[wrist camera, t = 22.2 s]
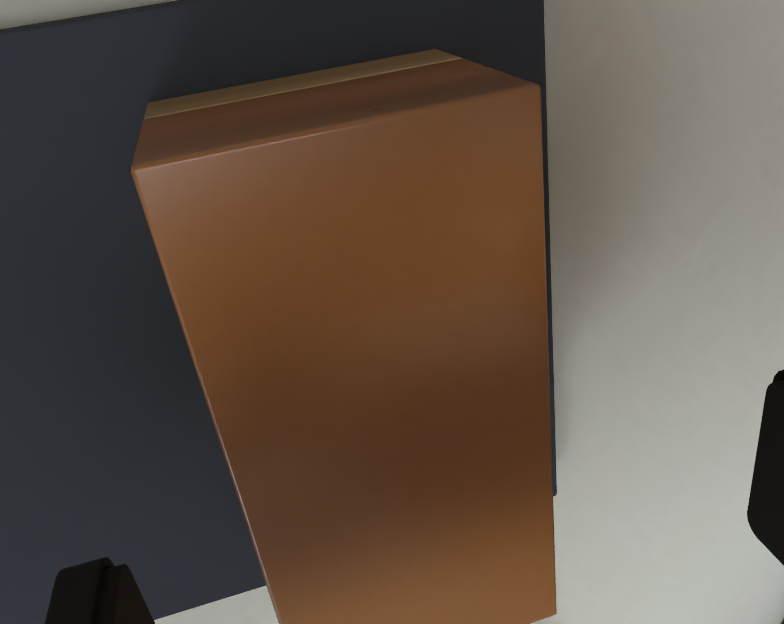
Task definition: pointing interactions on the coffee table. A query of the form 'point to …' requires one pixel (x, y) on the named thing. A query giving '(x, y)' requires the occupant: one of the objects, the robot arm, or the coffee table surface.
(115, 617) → the robot arm
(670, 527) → the coffee table surface
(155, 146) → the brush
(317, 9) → the mat
